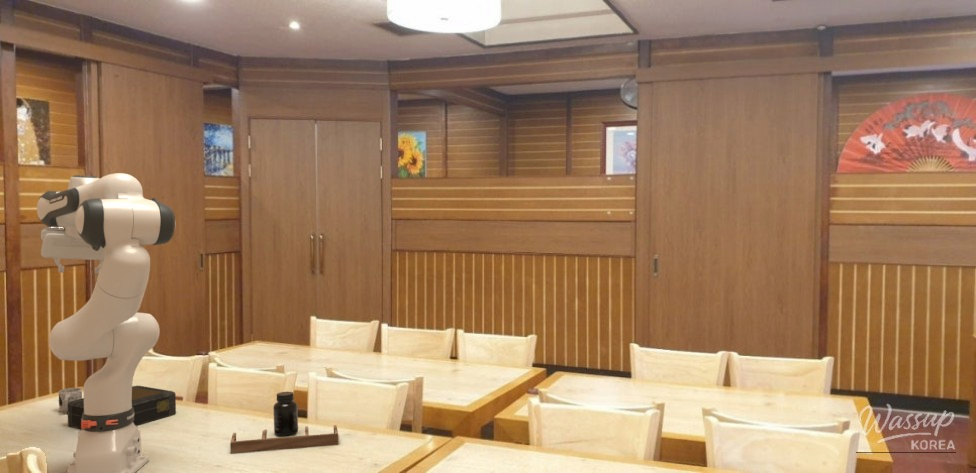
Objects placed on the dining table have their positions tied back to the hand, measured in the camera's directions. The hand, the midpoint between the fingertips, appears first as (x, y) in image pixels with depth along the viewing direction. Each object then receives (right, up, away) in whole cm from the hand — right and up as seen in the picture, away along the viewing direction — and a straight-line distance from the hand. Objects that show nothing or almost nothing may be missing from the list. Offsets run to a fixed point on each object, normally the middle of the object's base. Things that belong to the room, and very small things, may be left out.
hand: (79, 272), depth 220 cm
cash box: (+7, -47, +11) cm, 49 cm away
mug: (-15, -47, +21) cm, 54 cm away
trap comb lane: (+64, -47, -9) cm, 80 cm away
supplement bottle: (+63, -47, -4) cm, 79 cm away
